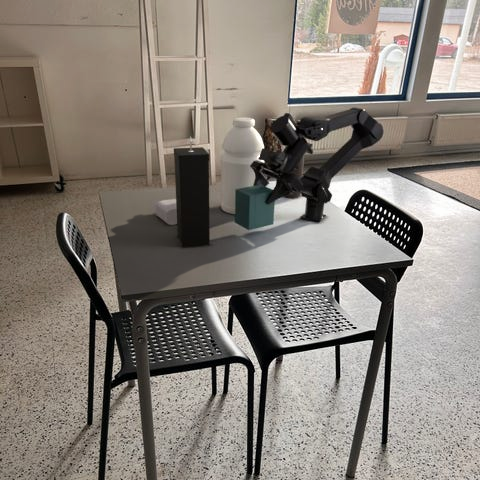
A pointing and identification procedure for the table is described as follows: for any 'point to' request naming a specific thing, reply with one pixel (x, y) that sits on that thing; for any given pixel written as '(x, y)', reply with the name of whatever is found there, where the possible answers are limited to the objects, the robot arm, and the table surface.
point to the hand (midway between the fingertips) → (258, 200)
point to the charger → (167, 211)
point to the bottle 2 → (299, 175)
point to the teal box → (253, 207)
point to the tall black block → (192, 195)
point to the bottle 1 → (238, 160)
